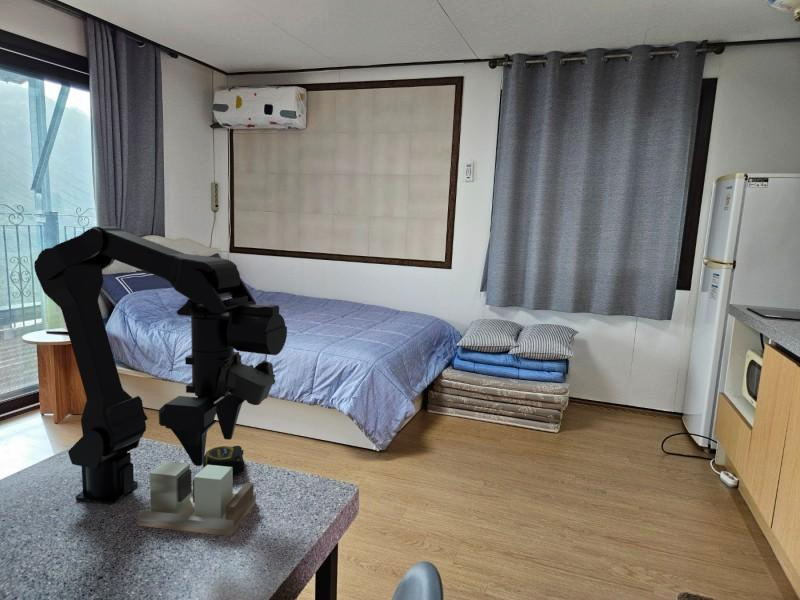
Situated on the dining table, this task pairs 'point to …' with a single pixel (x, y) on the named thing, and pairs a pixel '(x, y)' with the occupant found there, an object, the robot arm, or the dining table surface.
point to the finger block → (212, 490)
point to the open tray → (189, 503)
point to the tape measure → (226, 458)
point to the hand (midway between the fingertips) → (214, 451)
